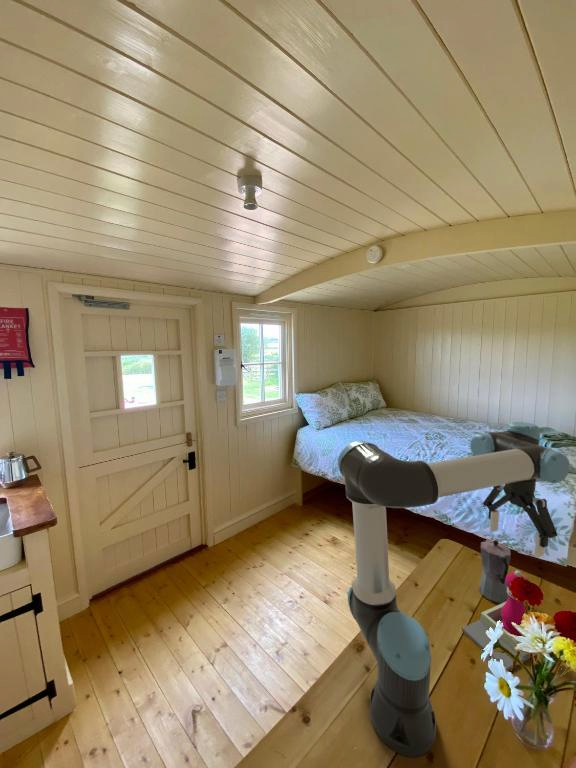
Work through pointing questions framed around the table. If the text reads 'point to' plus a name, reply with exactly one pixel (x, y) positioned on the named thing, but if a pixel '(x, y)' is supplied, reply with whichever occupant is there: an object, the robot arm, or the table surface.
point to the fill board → (480, 638)
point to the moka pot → (494, 571)
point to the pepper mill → (512, 607)
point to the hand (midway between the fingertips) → (514, 542)
